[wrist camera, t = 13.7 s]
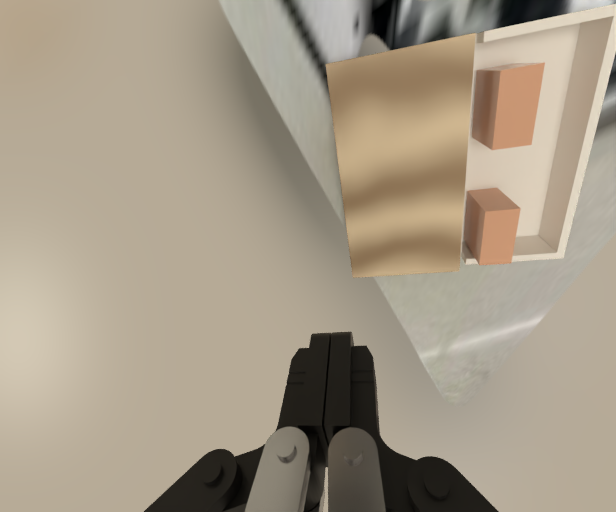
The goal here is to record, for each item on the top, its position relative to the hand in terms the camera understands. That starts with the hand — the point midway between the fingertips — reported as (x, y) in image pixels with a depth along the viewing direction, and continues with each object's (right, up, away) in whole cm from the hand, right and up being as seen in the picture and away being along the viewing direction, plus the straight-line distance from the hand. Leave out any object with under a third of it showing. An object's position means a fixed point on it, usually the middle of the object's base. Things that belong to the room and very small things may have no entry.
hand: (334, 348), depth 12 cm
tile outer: (+14, +6, +16) cm, 22 cm away
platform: (+7, +12, +17) cm, 22 cm away
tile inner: (+12, +15, +11) cm, 22 cm away
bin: (+16, +13, +15) cm, 26 cm away
